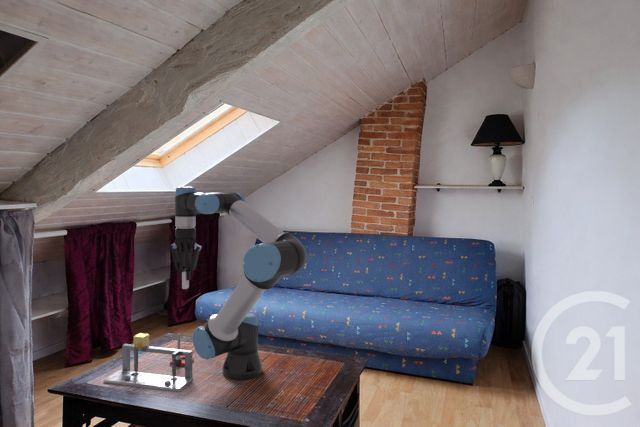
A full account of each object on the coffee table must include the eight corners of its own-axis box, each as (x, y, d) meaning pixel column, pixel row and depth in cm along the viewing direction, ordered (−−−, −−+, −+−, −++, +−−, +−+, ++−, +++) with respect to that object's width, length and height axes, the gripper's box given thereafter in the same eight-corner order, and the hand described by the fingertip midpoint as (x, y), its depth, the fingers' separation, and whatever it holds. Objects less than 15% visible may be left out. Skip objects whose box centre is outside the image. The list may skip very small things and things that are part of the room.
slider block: (149, 368, 179) (149, 334, 178) (140, 374, 173) (139, 339, 172) (139, 367, 180) (139, 333, 179) (130, 373, 174) (130, 338, 173)
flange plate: (191, 381, 172) (191, 376, 172) (179, 391, 163) (179, 386, 163) (119, 372, 178) (119, 367, 178) (103, 382, 169) (103, 377, 169)
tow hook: (177, 357, 195) (167, 365, 186) (178, 327, 194) (168, 333, 185) (196, 359, 193) (187, 367, 184) (197, 328, 193) (188, 335, 184)
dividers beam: (192, 377, 175) (192, 350, 174) (185, 383, 170) (185, 355, 169) (125, 370, 180) (125, 343, 179) (117, 375, 175) (117, 348, 175)
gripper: (205, 227, 180) (205, 287, 182) (174, 225, 182) (174, 284, 184) (196, 229, 172) (196, 291, 174) (164, 227, 175) (164, 289, 177)
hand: (185, 288), depth 179 cm, fingers closed
